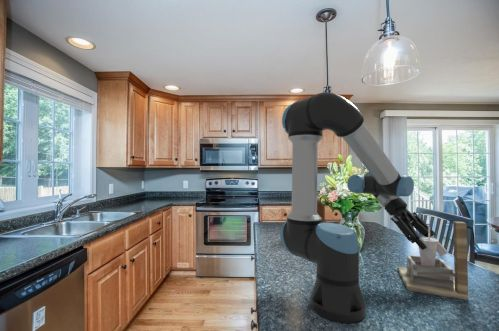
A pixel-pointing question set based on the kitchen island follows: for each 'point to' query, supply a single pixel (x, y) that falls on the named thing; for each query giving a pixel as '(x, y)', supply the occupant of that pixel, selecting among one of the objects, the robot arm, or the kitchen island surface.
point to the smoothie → (433, 244)
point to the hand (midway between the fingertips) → (439, 255)
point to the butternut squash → (321, 209)
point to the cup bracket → (440, 270)
